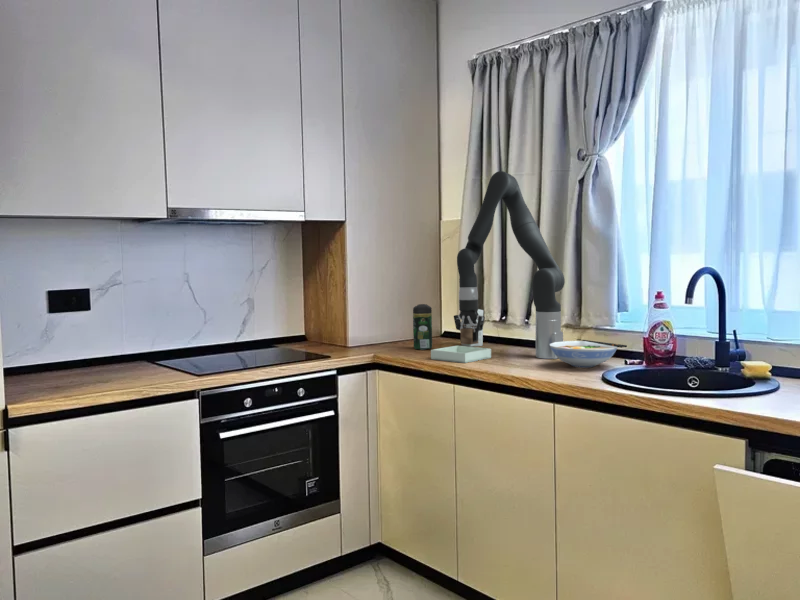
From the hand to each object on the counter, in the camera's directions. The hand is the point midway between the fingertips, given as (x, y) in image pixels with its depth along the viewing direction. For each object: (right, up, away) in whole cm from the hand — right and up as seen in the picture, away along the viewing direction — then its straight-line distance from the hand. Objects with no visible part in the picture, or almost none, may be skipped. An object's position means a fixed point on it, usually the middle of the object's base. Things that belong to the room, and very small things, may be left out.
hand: (469, 340), depth 274 cm
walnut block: (0, -1, 0) cm, 1 cm away
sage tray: (-5, -5, -18) cm, 19 cm away
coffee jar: (-18, -4, +12) cm, 22 cm away
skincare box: (+3, -3, +21) cm, 21 cm away
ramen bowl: (+35, -6, -39) cm, 53 cm away
